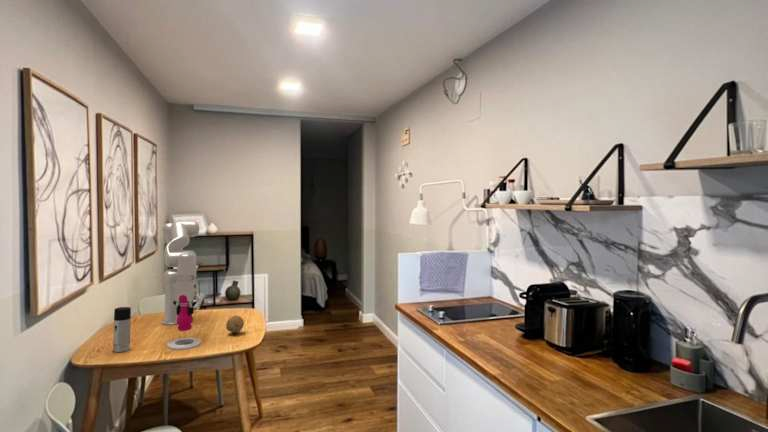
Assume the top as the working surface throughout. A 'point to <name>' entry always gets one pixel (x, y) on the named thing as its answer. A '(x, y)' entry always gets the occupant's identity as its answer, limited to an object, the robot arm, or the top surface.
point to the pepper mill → (184, 315)
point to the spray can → (121, 329)
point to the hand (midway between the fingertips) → (185, 314)
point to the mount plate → (184, 343)
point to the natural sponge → (235, 324)
